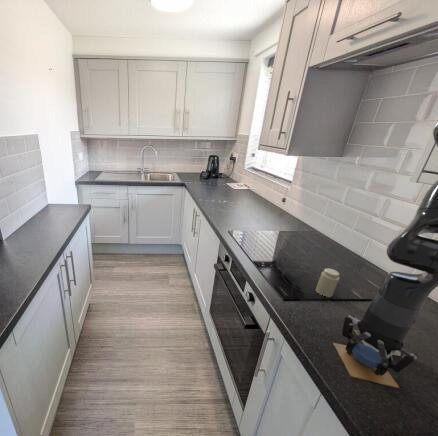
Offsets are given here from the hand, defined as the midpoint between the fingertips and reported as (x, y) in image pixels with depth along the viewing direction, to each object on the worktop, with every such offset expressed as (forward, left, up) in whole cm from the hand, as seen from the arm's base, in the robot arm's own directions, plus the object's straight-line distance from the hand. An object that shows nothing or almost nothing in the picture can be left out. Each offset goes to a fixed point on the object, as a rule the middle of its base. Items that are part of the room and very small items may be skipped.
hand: (363, 362), depth 61 cm
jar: (-2, -31, -1) cm, 31 cm away
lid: (0, 0, +3) cm, 3 cm away
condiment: (-8, -9, -1) cm, 12 cm away
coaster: (0, 0, -1) cm, 1 cm away
